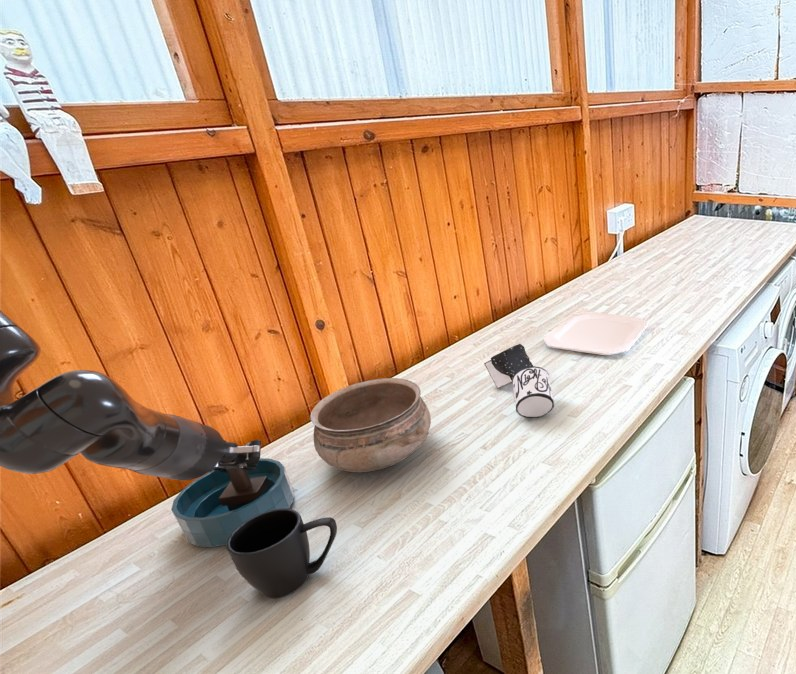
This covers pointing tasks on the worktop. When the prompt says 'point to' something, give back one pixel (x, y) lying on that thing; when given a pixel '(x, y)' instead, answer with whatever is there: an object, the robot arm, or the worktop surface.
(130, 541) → the worktop surface
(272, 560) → the mug
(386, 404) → the cooking pot
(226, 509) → the bowl
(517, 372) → the black and white cylinder
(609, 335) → the plate
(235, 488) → the brown stamp
